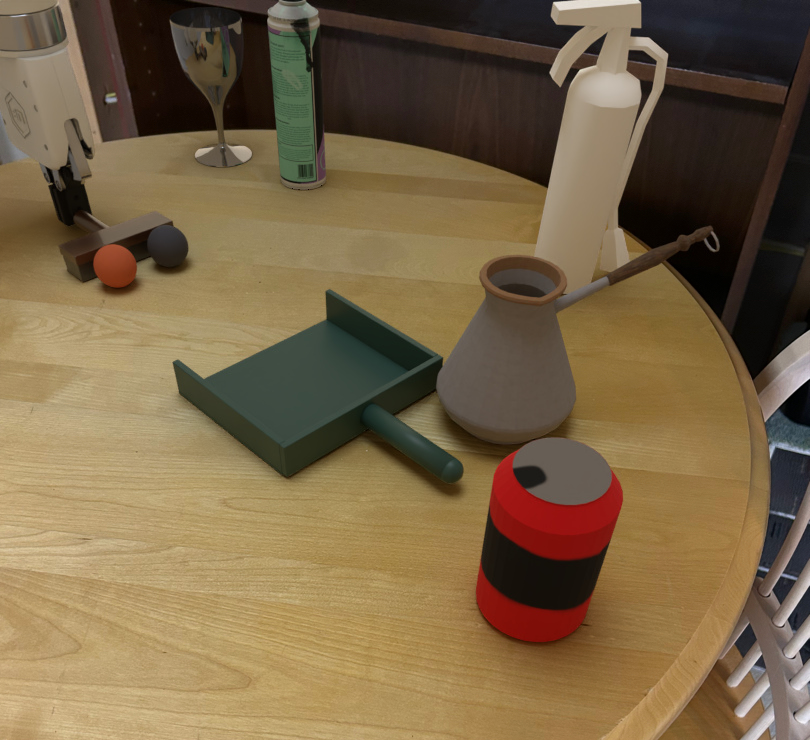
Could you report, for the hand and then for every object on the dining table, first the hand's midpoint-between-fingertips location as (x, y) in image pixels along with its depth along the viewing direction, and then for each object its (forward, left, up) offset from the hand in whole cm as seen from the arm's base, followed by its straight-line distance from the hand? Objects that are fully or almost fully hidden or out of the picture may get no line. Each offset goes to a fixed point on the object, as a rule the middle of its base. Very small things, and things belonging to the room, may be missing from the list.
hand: (76, 219), depth 87 cm
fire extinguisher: (+43, +32, -1) cm, 54 cm away
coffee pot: (+55, +14, -1) cm, 57 cm away
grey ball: (+14, +3, +1) cm, 14 cm away
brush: (+6, 0, -1) cm, 7 cm away
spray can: (+7, +26, -1) cm, 27 cm away
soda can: (+67, -4, -1) cm, 67 cm away
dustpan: (+44, 0, -1) cm, 44 cm away
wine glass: (-5, +23, -1) cm, 23 cm away
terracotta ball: (+14, -3, +1) cm, 14 cm away
